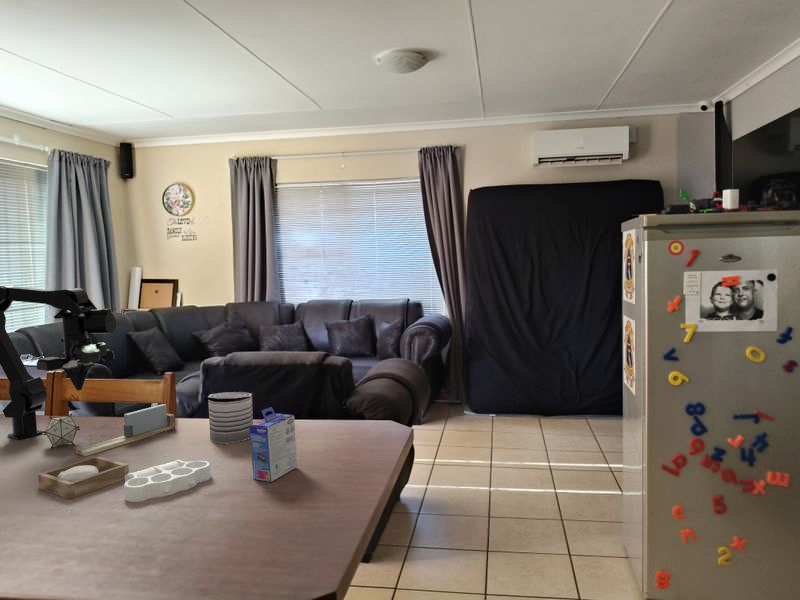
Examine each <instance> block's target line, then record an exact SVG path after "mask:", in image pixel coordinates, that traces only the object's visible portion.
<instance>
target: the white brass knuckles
mask: <svg viewBox="0 0 800 600" xmlns="http://www.w3.org/2000/svg"><path fill="white" fill-rule="evenodd" d="M211 477H212V473H211V463H210V462H209V461H206V460H193V461H183V460H181V459H174V460H173V461H170V462H168V463H167V462H166V463H163V464H160V465H153V466H151V467H148V468H145V469H142V470H138V471H134V472H129V473H128V474H126V475H125V479H124V485H123V486H124V489H123V490H124V500H126V502H131V503H135V502H138V503H140V502H143V501H146V500H149V499H152V498H153V499H154V498H162V497H167V496H172V495H174V494H176V493H177V492H181V491H186V490H187V491H188V490H189V489H192V488H194V487H195V486H197V483H198V484H200V483H203V482H206V481H209V480H210V479H211ZM202 481H203V482H202ZM199 482H200V483H199Z"/></svg>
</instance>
